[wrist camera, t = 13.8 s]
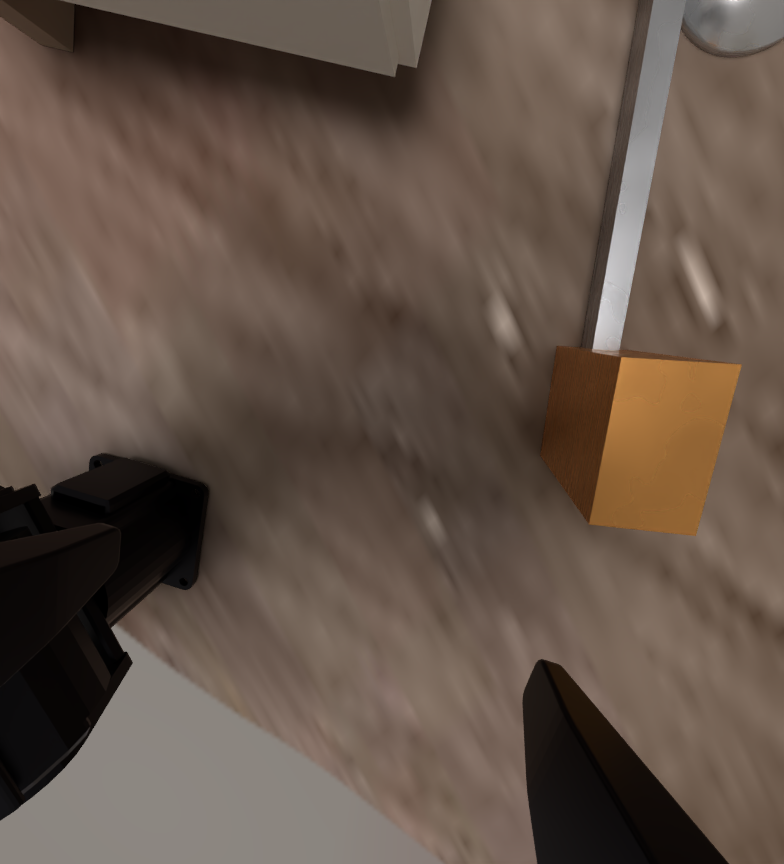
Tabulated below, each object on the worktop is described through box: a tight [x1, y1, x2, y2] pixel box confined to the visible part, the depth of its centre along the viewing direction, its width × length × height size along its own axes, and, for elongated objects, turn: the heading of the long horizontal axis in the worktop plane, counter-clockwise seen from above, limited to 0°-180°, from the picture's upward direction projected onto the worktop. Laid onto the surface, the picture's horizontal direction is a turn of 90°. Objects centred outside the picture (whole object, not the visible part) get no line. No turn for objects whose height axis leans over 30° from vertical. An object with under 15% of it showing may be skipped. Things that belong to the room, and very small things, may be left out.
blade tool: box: [540, 0, 741, 536], centre depth 13 cm, size 20×3×7 cm, turn 177°
